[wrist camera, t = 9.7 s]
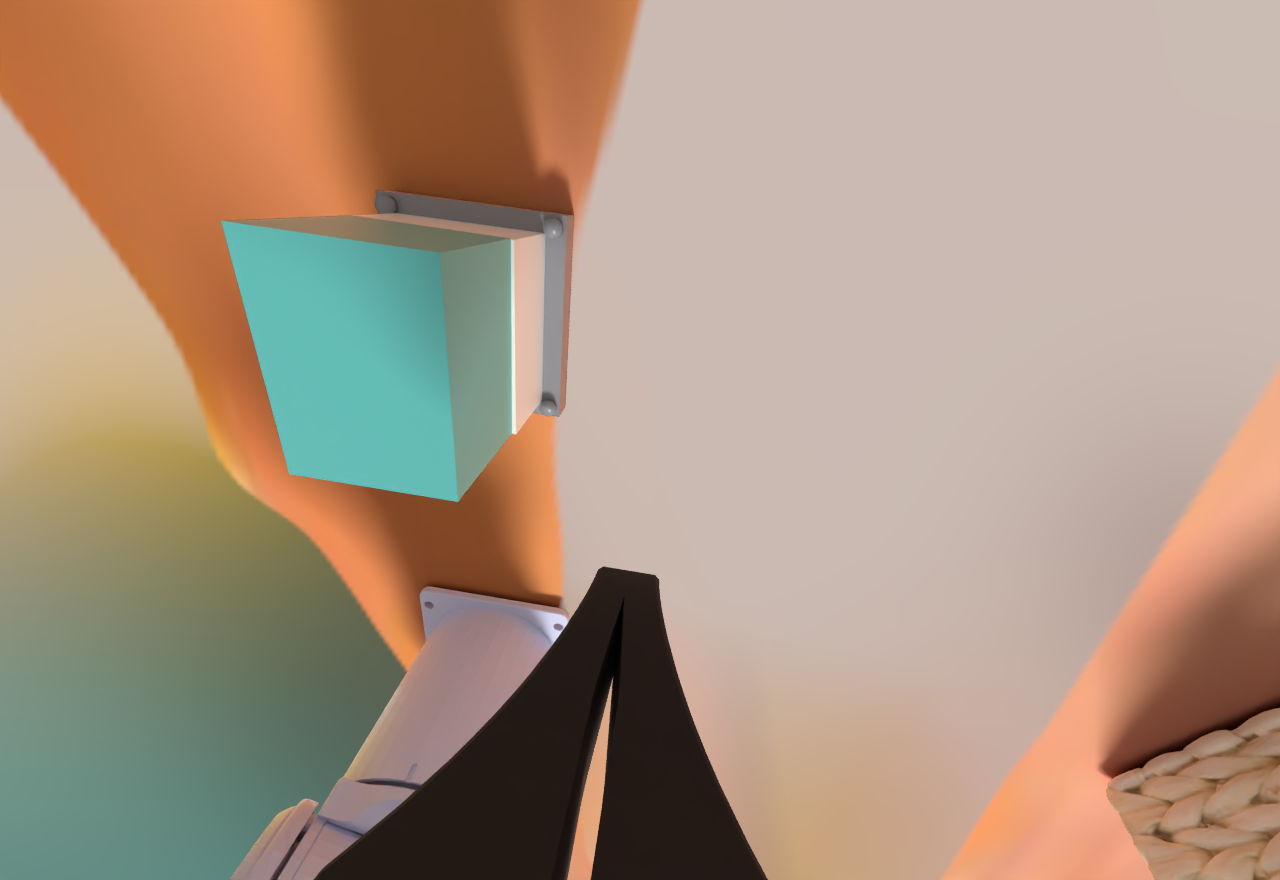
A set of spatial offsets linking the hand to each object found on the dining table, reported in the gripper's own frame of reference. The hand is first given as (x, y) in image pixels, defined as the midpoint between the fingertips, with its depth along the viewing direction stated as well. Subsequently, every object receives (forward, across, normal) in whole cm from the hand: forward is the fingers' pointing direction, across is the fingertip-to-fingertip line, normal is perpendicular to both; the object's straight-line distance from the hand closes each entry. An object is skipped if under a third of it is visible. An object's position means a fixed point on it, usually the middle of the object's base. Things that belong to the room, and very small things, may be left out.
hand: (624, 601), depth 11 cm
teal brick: (+5, +7, -4) cm, 10 cm away
